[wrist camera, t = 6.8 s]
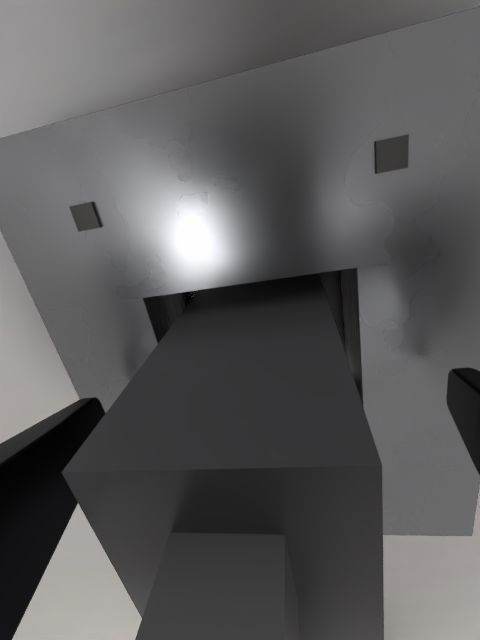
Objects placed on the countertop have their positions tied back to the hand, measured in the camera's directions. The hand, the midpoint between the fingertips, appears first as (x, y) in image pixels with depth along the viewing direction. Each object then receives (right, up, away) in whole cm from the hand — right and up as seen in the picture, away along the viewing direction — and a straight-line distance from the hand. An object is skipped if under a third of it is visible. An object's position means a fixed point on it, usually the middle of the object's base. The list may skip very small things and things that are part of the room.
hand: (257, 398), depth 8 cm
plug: (+1, +2, +4) cm, 4 cm away
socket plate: (+1, +2, +4) cm, 4 cm away
